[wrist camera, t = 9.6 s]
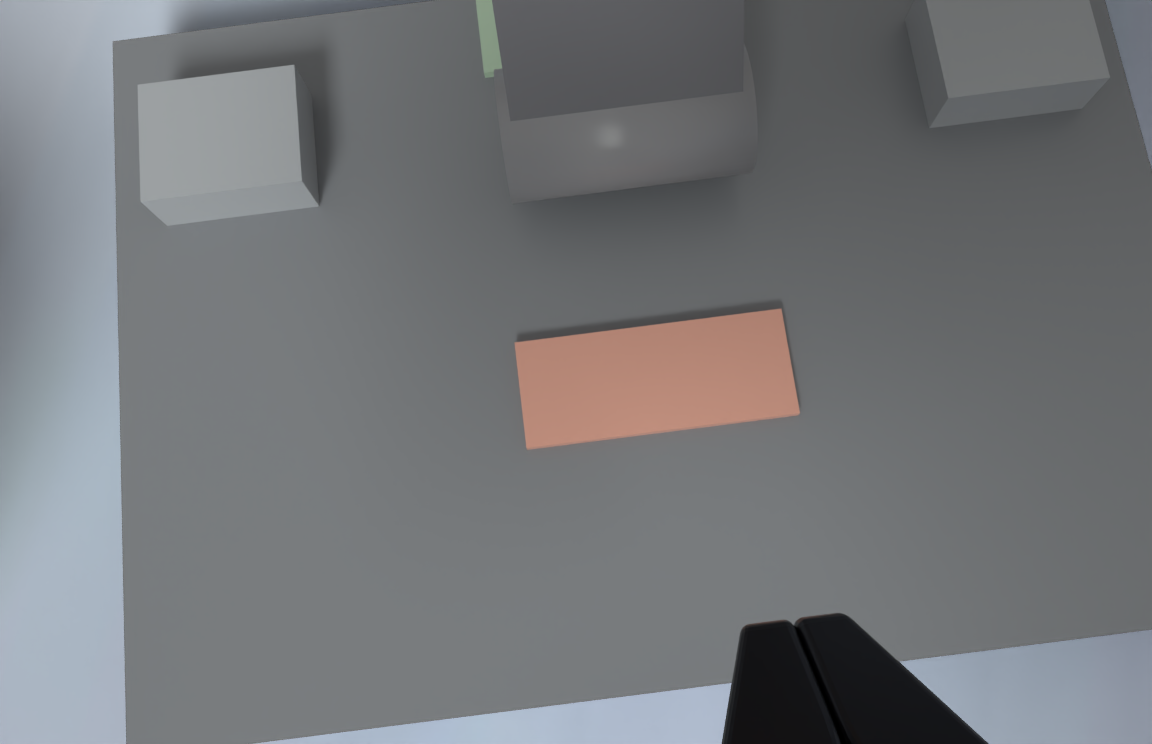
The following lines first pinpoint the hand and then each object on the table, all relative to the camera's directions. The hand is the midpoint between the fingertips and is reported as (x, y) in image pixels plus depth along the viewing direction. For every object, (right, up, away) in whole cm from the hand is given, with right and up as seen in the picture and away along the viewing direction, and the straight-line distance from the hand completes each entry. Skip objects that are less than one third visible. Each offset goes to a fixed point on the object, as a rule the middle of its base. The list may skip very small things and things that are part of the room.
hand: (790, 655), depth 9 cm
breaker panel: (0, +3, +13) cm, 14 cm away
